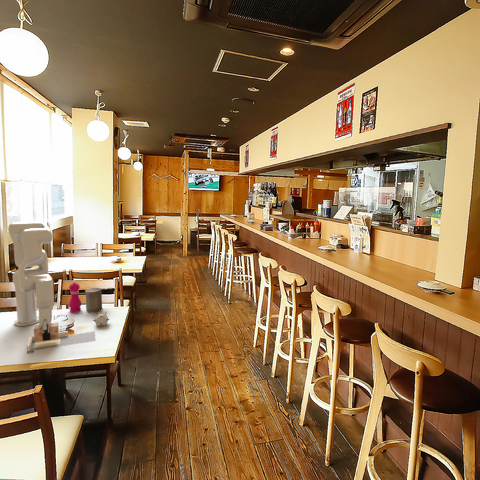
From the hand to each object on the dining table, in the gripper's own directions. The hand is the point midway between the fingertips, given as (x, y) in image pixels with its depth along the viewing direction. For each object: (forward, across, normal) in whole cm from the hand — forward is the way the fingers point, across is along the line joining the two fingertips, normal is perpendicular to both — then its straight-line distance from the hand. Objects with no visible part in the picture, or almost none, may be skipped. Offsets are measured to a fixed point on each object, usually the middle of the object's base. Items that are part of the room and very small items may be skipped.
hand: (47, 337), depth 163 cm
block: (+1, 0, 0) cm, 1 cm away
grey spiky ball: (+4, -14, +26) cm, 30 cm away
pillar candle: (+5, -44, +23) cm, 50 cm away
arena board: (+4, 0, +7) cm, 8 cm away
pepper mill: (+4, -46, +12) cm, 48 cm away
